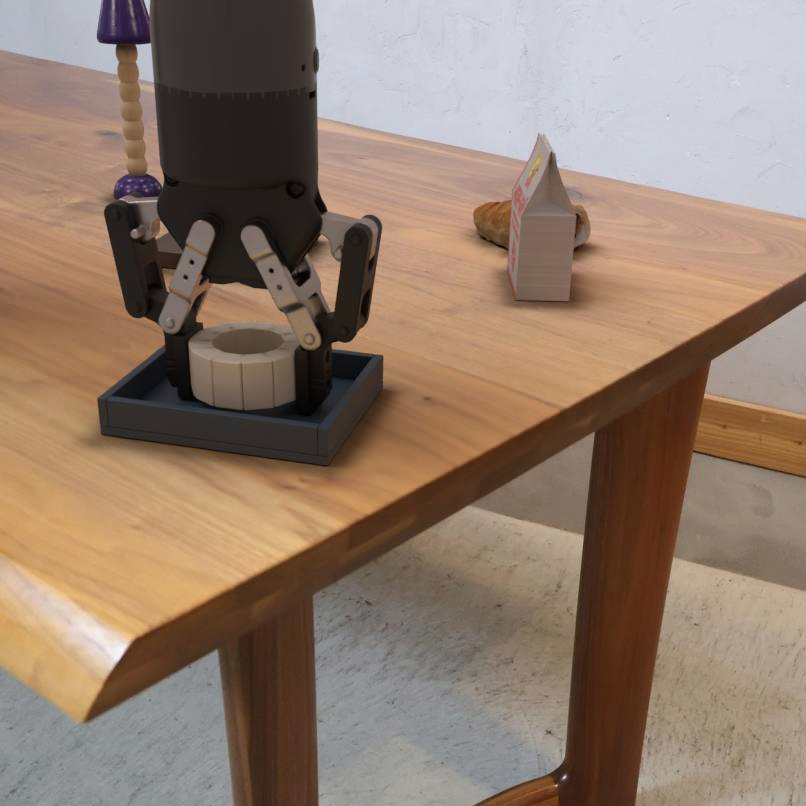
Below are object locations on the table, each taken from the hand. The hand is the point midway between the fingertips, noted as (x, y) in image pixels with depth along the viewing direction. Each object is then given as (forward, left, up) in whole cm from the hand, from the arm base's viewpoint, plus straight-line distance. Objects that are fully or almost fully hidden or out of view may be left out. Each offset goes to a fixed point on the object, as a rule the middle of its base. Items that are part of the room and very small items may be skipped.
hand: (251, 400), depth 61 cm
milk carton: (+11, +26, -1) cm, 28 cm away
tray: (0, 0, -1) cm, 1 cm away
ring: (0, 0, +1) cm, 1 cm away
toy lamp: (-26, +39, -1) cm, 47 cm away
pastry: (+9, +36, -1) cm, 37 cm away
